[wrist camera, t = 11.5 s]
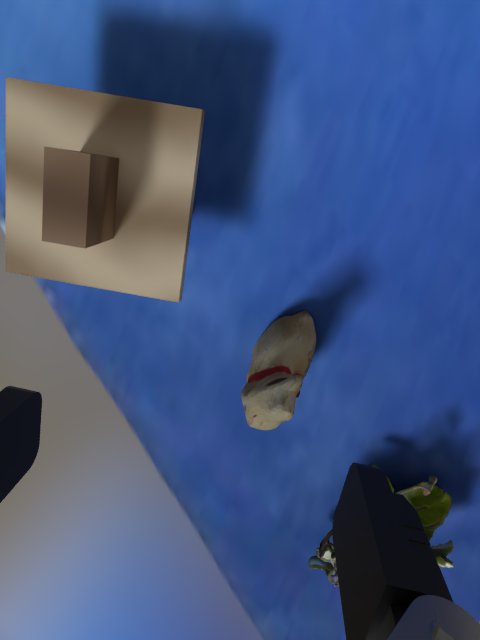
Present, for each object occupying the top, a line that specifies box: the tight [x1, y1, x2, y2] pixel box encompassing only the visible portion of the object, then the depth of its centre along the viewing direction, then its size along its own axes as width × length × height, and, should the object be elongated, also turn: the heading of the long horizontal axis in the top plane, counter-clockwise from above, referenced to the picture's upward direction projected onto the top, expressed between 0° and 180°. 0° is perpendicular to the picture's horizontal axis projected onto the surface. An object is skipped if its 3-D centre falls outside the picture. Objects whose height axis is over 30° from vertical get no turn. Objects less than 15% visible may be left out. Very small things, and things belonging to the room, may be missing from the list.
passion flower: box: [308, 464, 454, 589], centre depth 39 cm, size 11×11×12 cm
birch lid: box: [6, 77, 205, 302], centre depth 27 cm, size 12×12×6 cm
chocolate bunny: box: [241, 311, 316, 430], centre depth 34 cm, size 6×8×10 cm
